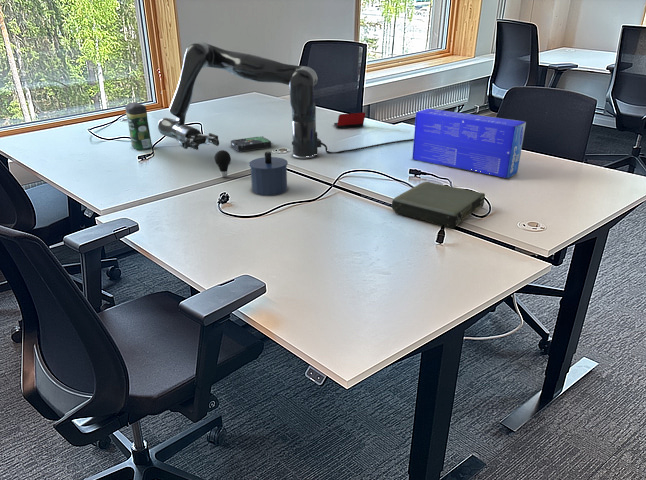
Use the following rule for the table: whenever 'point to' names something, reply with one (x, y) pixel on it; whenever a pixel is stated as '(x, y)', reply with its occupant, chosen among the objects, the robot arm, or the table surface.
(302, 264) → the table surface
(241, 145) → the disk drive
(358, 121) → the handheld console
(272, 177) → the pot
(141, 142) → the coffee jar
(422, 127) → the blue cardboard box
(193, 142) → the robot arm
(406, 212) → the network switch
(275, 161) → the pot lid
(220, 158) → the light bulb
